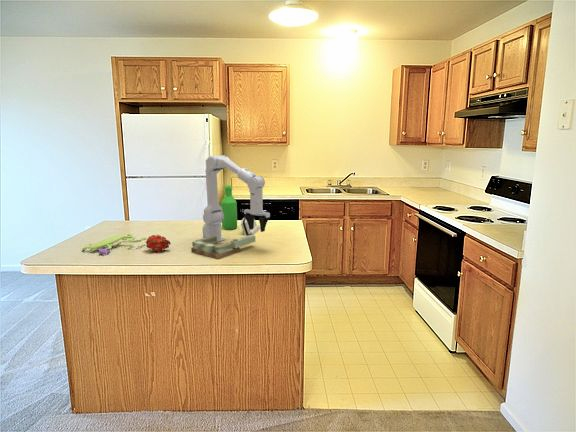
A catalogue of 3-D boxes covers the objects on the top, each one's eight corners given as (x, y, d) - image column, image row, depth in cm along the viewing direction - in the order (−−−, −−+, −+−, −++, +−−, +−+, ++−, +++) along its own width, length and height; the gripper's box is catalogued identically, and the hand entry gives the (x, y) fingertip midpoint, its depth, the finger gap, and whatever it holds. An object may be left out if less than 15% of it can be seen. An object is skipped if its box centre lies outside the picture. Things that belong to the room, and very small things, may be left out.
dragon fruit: (145, 253, 186) (170, 257, 186) (140, 247, 178) (165, 251, 178) (150, 236, 189) (175, 240, 189) (145, 230, 182) (170, 234, 181)
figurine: (150, 247, 191) (149, 236, 190) (92, 259, 173) (90, 247, 172) (135, 239, 204) (134, 229, 203) (79, 250, 186) (78, 238, 185)
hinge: (253, 235, 210) (246, 218, 209) (245, 238, 211) (238, 221, 210) (260, 228, 227) (254, 212, 225) (252, 230, 228) (246, 214, 226)
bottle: (240, 227, 228) (239, 185, 223) (230, 230, 221) (229, 187, 215) (228, 225, 233) (227, 184, 227) (218, 228, 225) (217, 186, 220)
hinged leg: (235, 248, 180) (235, 241, 179) (230, 247, 182) (230, 240, 181) (255, 241, 191) (255, 234, 190) (250, 240, 193) (250, 233, 192)
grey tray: (191, 251, 183) (190, 241, 181) (213, 244, 194) (213, 235, 192) (218, 259, 172) (217, 248, 171) (240, 251, 183) (239, 241, 182)
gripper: (273, 202, 180) (274, 230, 183) (250, 199, 189) (251, 226, 192) (264, 204, 175) (264, 234, 178) (240, 201, 183) (241, 229, 186)
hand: (256, 230), depth 184 cm, fingers open, 6 cm apart
